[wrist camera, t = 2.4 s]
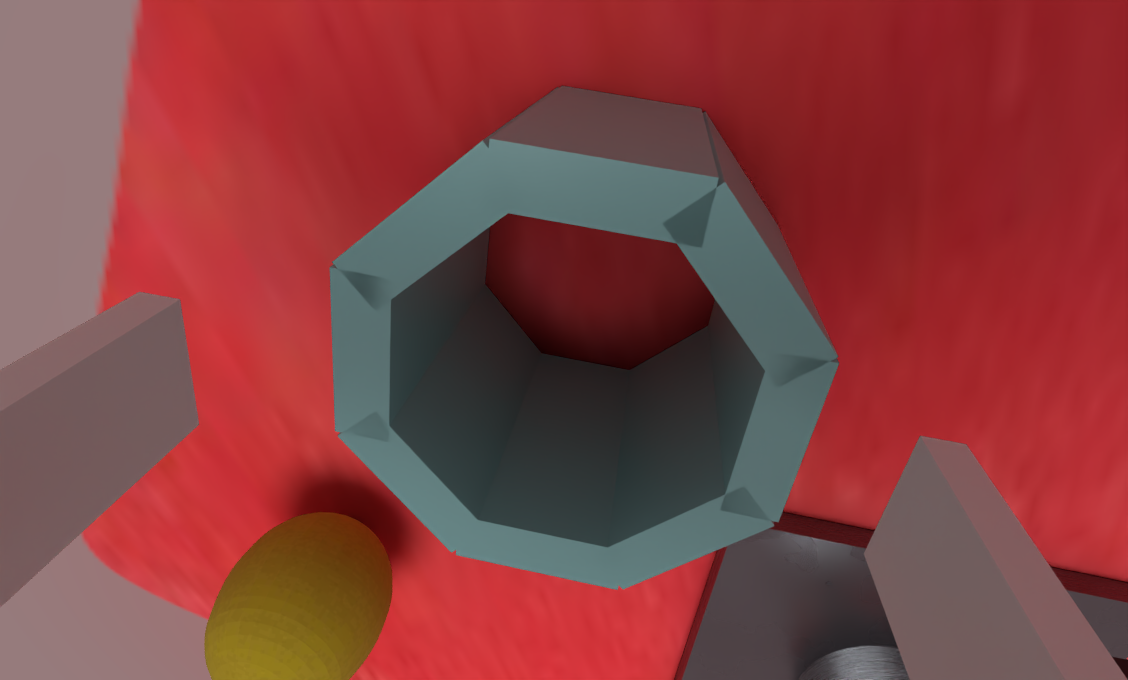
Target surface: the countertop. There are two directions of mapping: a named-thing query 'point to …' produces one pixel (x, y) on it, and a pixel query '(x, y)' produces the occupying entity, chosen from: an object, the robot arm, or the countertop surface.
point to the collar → (572, 387)
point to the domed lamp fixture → (827, 609)
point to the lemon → (301, 603)
